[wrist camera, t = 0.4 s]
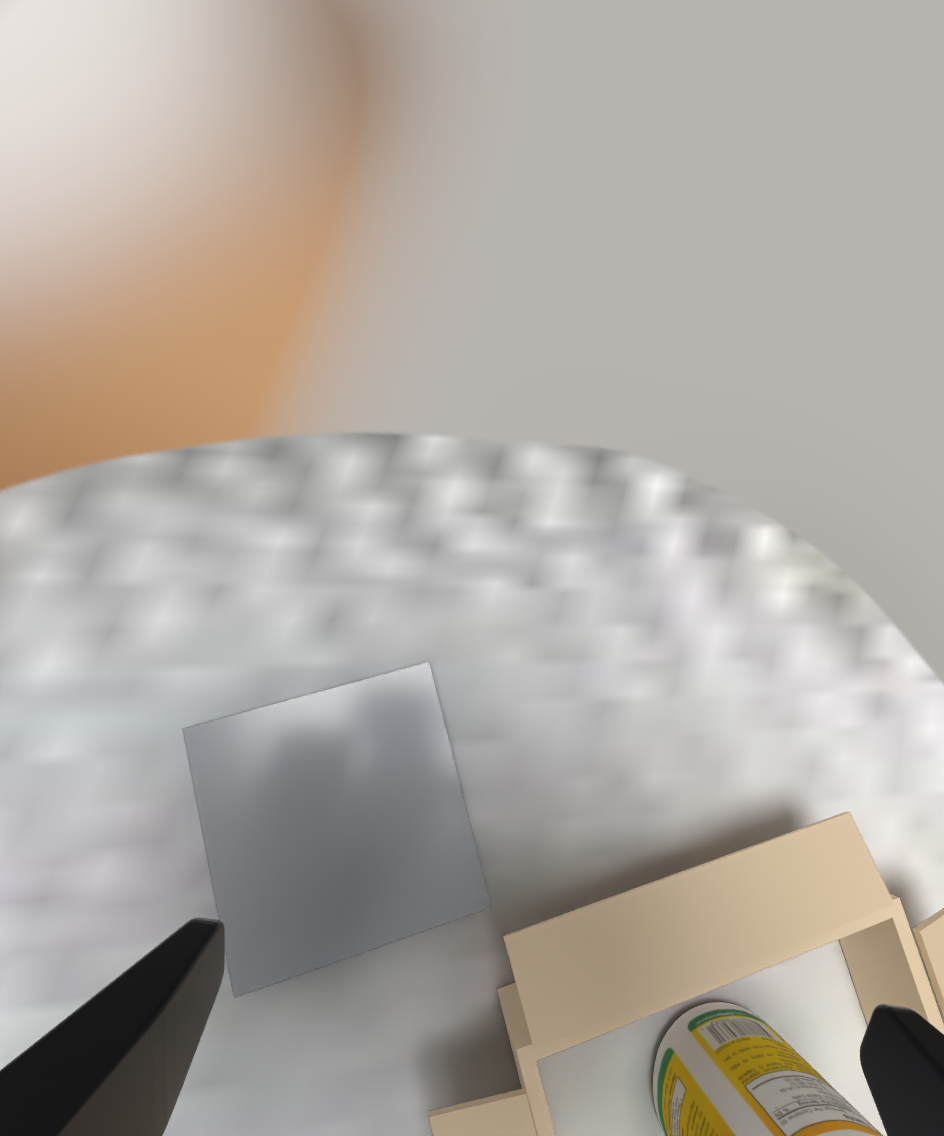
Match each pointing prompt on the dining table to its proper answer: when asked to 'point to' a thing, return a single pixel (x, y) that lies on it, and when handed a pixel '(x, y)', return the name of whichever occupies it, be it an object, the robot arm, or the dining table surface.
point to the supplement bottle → (743, 1081)
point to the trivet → (333, 825)
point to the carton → (701, 954)
